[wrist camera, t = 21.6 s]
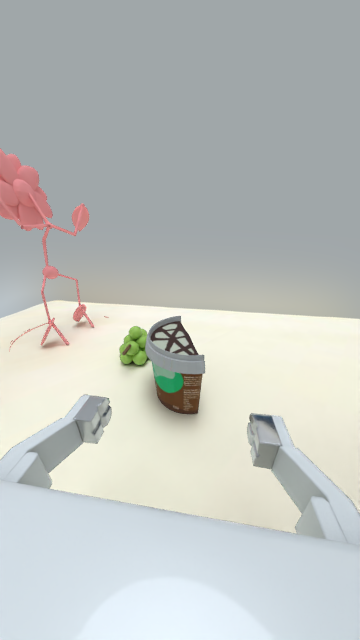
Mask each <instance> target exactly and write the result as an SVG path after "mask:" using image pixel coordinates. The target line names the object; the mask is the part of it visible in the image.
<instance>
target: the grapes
mask: <svg viewBox="0 0 360 640" xmlns="http://www.w3.org/2000/svg"><path fill="white" fill-rule="evenodd" d="M146 339H147V332H146V331H145V330H144V329H141V328H140V327H137V326H134V327H132V328H131V329H130V330H129V335H127V336H126V337H125V338H124V344H122V345H121V347H120V354H121V355H120V360H121V361H122V362H123V363H125V364H129V363H131V362H132V361H133V362H134V363H135V364H137V365H142V364H144V363H145V362H146V360H147V358H148V356H147V354H146V351H145V345H146Z"/></svg>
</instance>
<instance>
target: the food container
mask: <svg viewBox="0 0 360 640" xmlns="http://www.w3.org/2000/svg"><path fill="white" fill-rule="evenodd" d="M145 351H146V354H147V356H148V358H149V359H150V360H151V361H152V365H153V371H154V377H155V383H156V390H157V395H158V398H159V400H160V401H161V403H162V404H163V405H164V406H165V407H167V408H168V409H170V410H172V411H174V412H178V413H183V414H195V413H198V407H199V399H200V390H201V382H202V374H204V373H205V361H204V355H198V353H197V351H196V349H195V347H194V345H193V343H192V341H191V338H190V336H189V334H188V333H187V332H186V331H185V329H184V327H183V326H182V324H181V316H175V317H170V318H166V319H164V320H161V321H159V322H157V323H156V324H154V325H153V326H152V327H151V329H150V330H149V333H148V335H147V339H146V345H145Z"/></svg>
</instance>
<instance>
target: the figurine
mask: <svg viewBox="0 0 360 640" xmlns="http://www.w3.org/2000/svg"><path fill="white" fill-rule="evenodd" d="M38 183H39V175H38V172H37V171H36V170H35V169H34V168H32V167H30V166H21V163H20V161H19V159H18V157H17V156H16V155H14V154H9V155H7V156H6V155H5V153H4V152H3V151H2V150H1V149H0V215H1V216H2V217H4V218H6V219H11V220H12V219H14V220H15V221H16V222H17V224H18V225H19V226H20V225H21V229H25V230H26V231H30V230H31V229H32V228H38V229H39V230H43V228H44V227H47V229H46V231H45V234H44V236H43V241H42V242H43V249H44V255H45V262H46V267H45V268H44V269H43V275H44V279H43V285H42V290H41V294H42V298H43V301H44V305H45V309H46V313H47V316H48V320H49V322H48V324H49V326H48V328H47V330H46V332H45V335H44V337H43V339H42V342H41V345H43V343H44V341H45V339H46V337H47V335H48V333H49V331H50V329H51V327H52V326H53V328H54V329H55V330H56V331H57V333H58V334H59V335H60V337H61V338H62V339H63V341H64V342H65V343H66V345H68V344H69V343H68V341H67V340H66V339H65V337H64V336H63V335H62V333H61V332H60V331H59V329H58V328H57V327H56V325H55V324H54V323H53V322H54V320H55V318H53V319H52V320H50V316H49V312H48V308H47V304H46V300H45V296H44V293H43V291H44V286H45V281H46V278H48V279H54V278H56V277H57V276H58V275H59V276H62V277H66V278H69V279H73V280H76V286H77V293H78V302H79V307H78V308H77V309H76V311H75V312H74V315H73V318H74V320H75V321H78V322H79V321H80V319H81V318H82V317H83V315H84V316H85V317H86V318H87V320H88V321H89V323H90V324H91V326H92V327H94V325H93V323H92V322H91V320H90V319H89V317H88V316H87V314H86V313H85V311H86V306H85V305H84V304H82V305H80V297H79V289H78V281H77V279H74V278H71V277H68V276H64V275H61V274H58V270H57V269H56V268H55V267H53V266H48V258H47V249H46V238H47V235H48V232H49V229H51V228H52V227H53V228H55V229H58V230H60V231H63V232H66V233H68V234H71V235H74V236H76V234H77V231H78V230H79V231H81V230H82V229H83V228H84V227H85V226H86V225H87V223H88V221H89V213H88V210H87V208H86V207H85V205H84V204H81V205H80V206H78V207H76V208H75V210H74V212H73V214H72V221H73V224H74V226H75V231H74V233H72V232H70V231H68V230H65V229H62V228H60V227H57V226H55V225H52V224H51V223H50V222H48V220H47V218H46V217H48V218H52V216H53V214H52V211H51V209H50V206H49V205H48V203H47V202H46V200H47V196H46V194H45V193H44V191H43V190H42V189H41V188H40V187H38ZM45 216H46V217H45ZM18 219H19V220H20V221H19V220H18ZM43 219H44V221H45V223H46V224H43ZM104 317H105V316H104ZM108 318H109V317H108ZM46 324H47V323H46ZM43 325H45V324H43ZM40 326H42V325H40ZM38 327H39V326H38ZM36 328H37V327H36ZM33 329H35V328H33ZM31 330H32V329H31ZM29 331H30V329H29ZM29 331H28V330H27V332H29ZM27 332H26V331H25V333H27ZM25 333H24V334H25ZM22 335H23V334H22ZM22 335H21V336H22ZM19 337H20V336H19ZM19 337H18V338H19ZM18 338H17V339H18ZM17 339H16V340H17ZM12 341H13V340H12ZM12 341H11V342H12ZM14 342H15V341H14ZM14 342H13V343H14ZM13 343H12V344H13ZM12 344H11V345H12ZM10 347H11V346H10ZM9 352H10V351H9Z"/></svg>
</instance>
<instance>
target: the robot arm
mask: <svg viewBox="0 0 360 640" xmlns="http://www.w3.org/2000/svg"><path fill="white" fill-rule="evenodd" d="M109 403H110V401H109V398H106V397H99V396H91V395H83V396H81V397H80V399H79V400H78V401H77V402H76V404H75V405H74V406H73V407H72V409H71V410H70V411H69V412H68V414H67V415H66V416H65V417H64V418H61V419H59V420H57V421H56V422H54V423H52V424H51V425H49V426H47V427H46V428H44V429H42V430H41V431H39V432H37V433H36V434H34V435H32V436H31V437H29V438H27V439H26V440H24V441H22V442H21V443H19V444H17V445H15V446H14V447H12V448H11V449H10V450H9V451H8V452H7V453H6V454H5V455H4V457H3V458H2V459H1V460H0V640H360V514H359V512H358V511H357V509H356V507H355V505H354V503H353V502H352V501H351V500H350V499H349V498H348V497H347V496H346V495H345V494H344V493H343V492H342V491H341V490H340V489H339V488H338V487H337V486H336V485H335V484H334V483H333V482H332V481H331V480H330V479H329V478H328V477H327V476H326V475H325V474H324V473H323V472H322V471H321V470H320V469H319V468H318V467H317V466H316V465H315V464H314V463H313V462H312V461H311V460H310V459H309V458H308V457H306V456H305V455H304V454H303V453H302V452H301V451H300V450H299V449H298V448H295V447H294V444H293V442H292V440H291V437H290V435H289V433H288V430H287V428H286V426H285V423H284V421H283V418H282V417H281V416H274V415H266V414H255V413H251V414H250V417H249V419H250V423H248V427H247V436H248V442H249V444H250V445H251V446H252V448H251V457H252V461H253V466H256V467H261V468H267V469H272V472H273V473H274V475H275V476H276V478H277V479H278V480H279V482H280V483H281V485H282V486H283V487H284V489H285V490H286V492H287V493H288V495H289V496H290V497H291V499H292V500H293V502H294V503H295V504H296V506H297V507H298V509H299V510H300V512H301V513H302V515H301V517H300V519H299V521H298V522H297V524H296V526H295V529H296V532H297V534H295V533H290V532H284V531H279V530H273V529H268V528H262V527H257V526H251V525H246V524H240V523H235V522H229V521H224V520H218V519H213V518H207V517H202V516H196V515H191V514H186V513H180V512H175V511H169V510H164V509H158V508H153V507H147V506H142V505H136V504H131V503H125V502H120V501H114V500H109V499H103V498H98V497H92V496H87V495H81V494H76V493H70V492H65V491H59V490H54V489H49V488H50V487H51V485H52V480H51V478H50V476H49V474H48V473H49V472H50V471H52V470H53V469H54V468H55V467H56V466H57V465H59V464H60V463H61V462H62V461H63V460H64V459H65V458H67V457H68V456H69V455H70V454H71V453H72V452H73V451H75V450H76V449H77V448H78V447H79V446H80V445H81V444H83V442H86V443H95V444H98V442H99V440H100V438H101V436H102V434H103V432H104V431H103V428H104V427H105V426H107V425H108V423H109V421H110V418H111V415H112V410H111V407H110V406H109V405H108V404H109Z"/></svg>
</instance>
